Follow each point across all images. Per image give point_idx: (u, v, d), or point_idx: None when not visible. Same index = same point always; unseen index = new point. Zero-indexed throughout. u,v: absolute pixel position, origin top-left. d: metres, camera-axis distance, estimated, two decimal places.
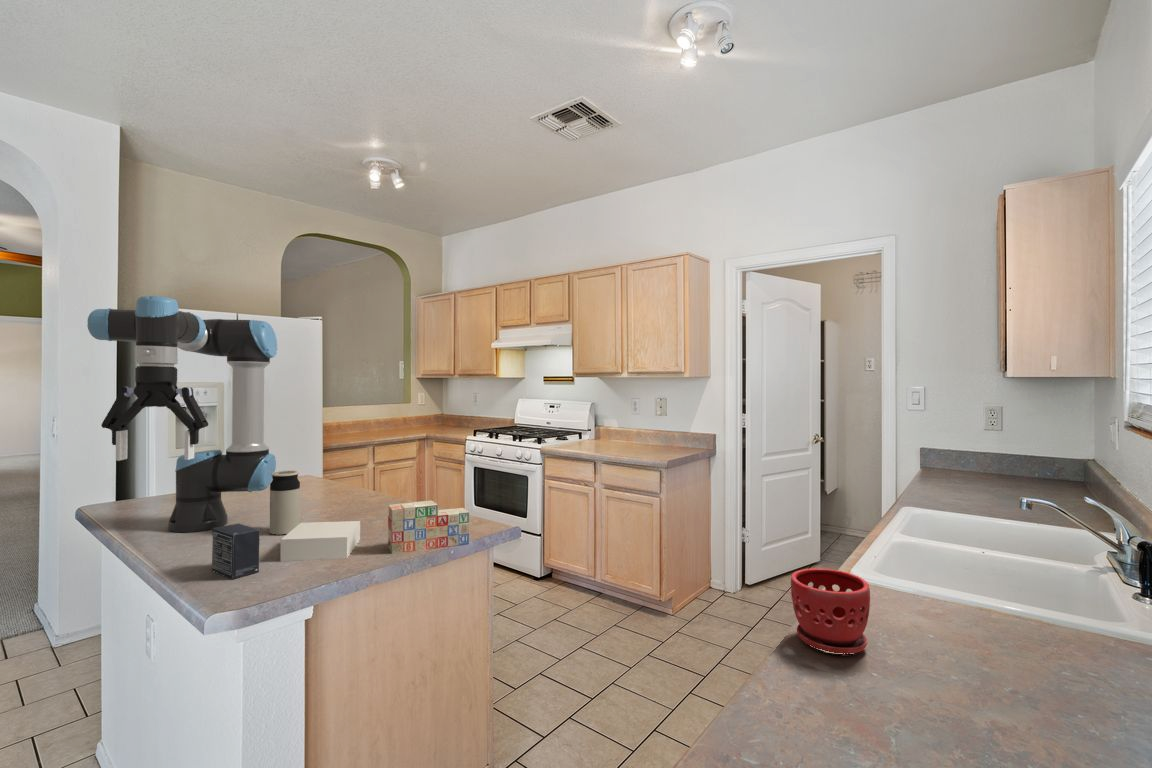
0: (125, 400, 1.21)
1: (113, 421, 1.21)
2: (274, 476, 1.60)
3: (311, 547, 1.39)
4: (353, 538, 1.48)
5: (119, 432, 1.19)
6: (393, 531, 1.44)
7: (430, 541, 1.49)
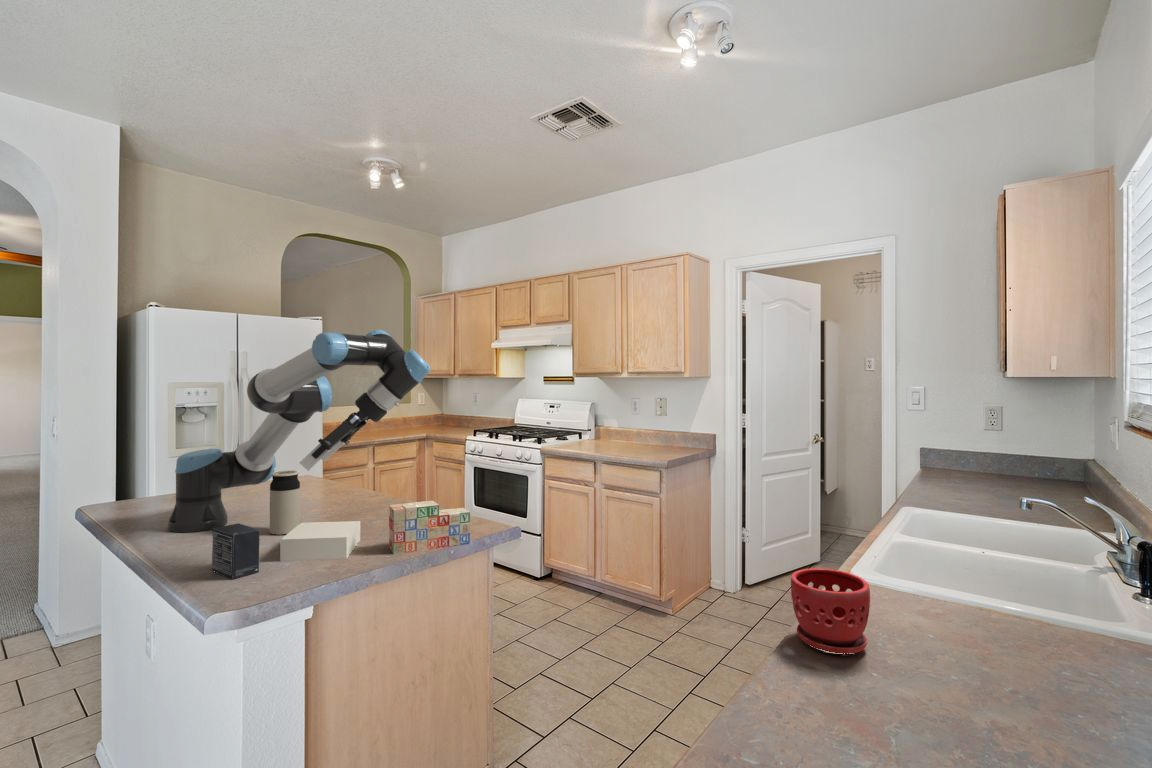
0: None
1: None
2: (274, 476, 1.60)
3: (310, 547, 1.39)
4: (353, 538, 1.47)
5: None
6: (395, 531, 1.44)
7: (432, 541, 1.49)
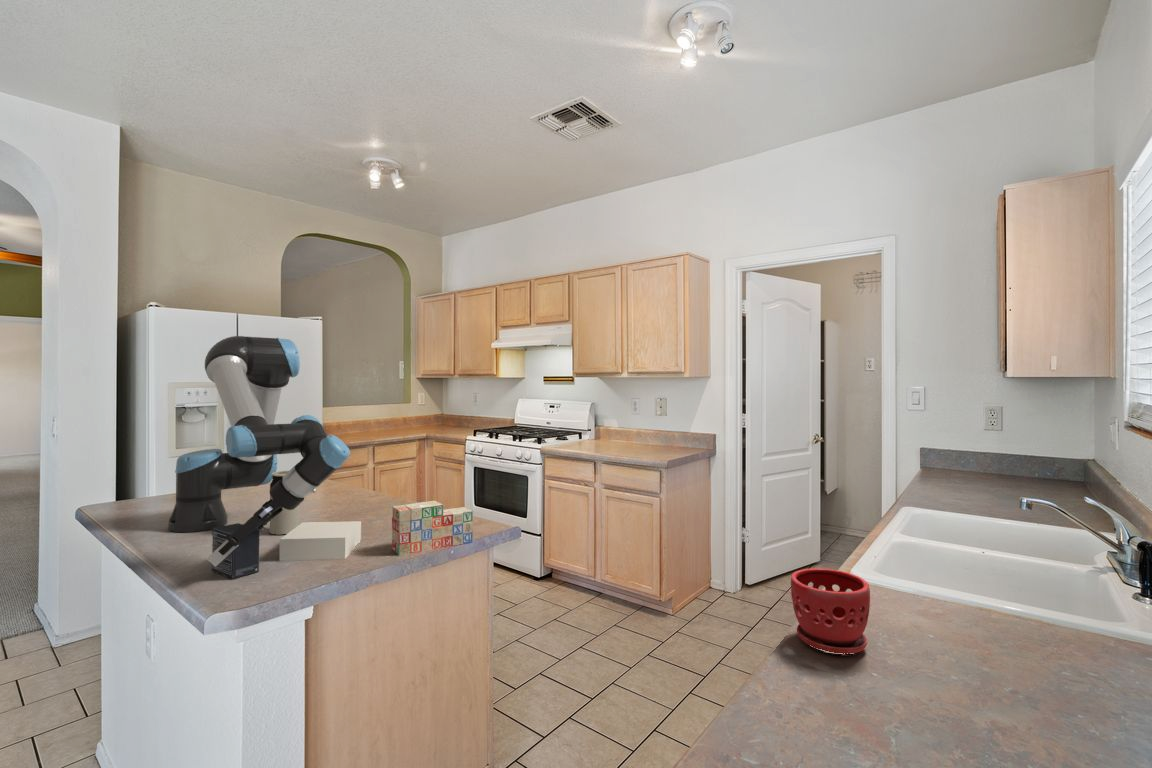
0: None
1: None
2: (274, 476, 1.60)
3: (309, 547, 1.39)
4: (353, 538, 1.47)
5: None
6: (400, 532, 1.43)
7: (436, 541, 1.49)
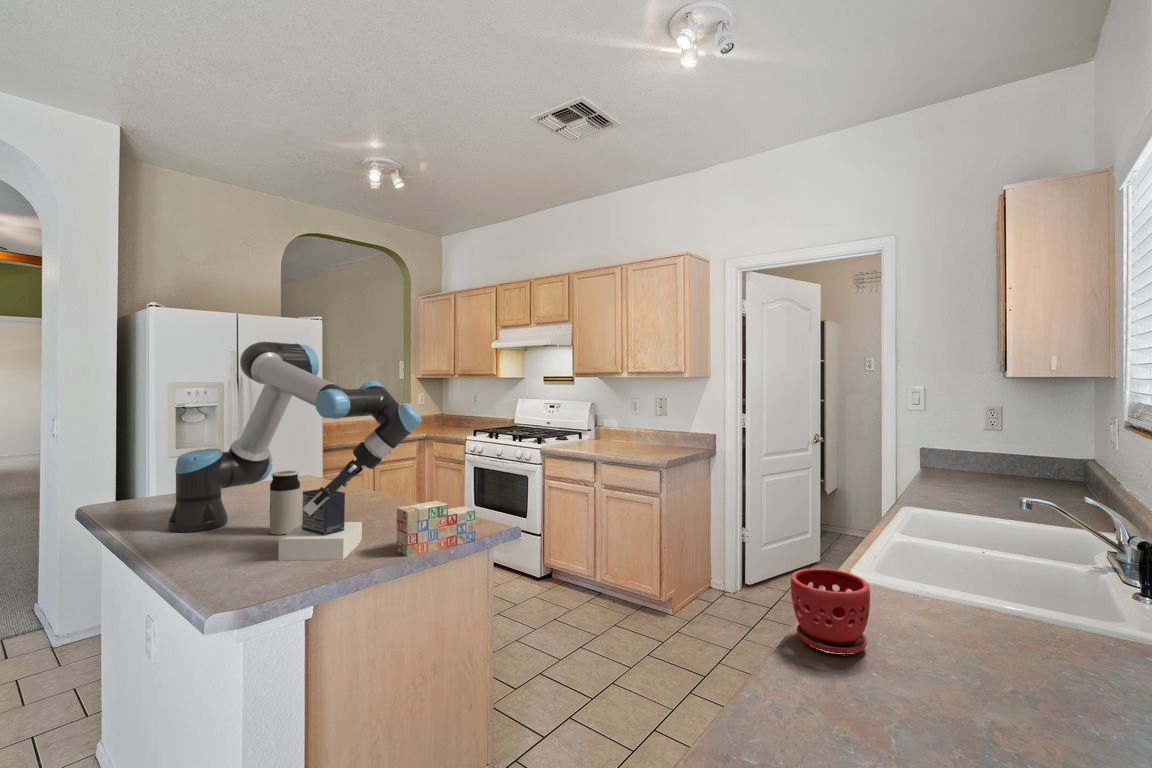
0: None
1: (327, 487, 1.38)
2: (274, 476, 1.60)
3: (308, 547, 1.39)
4: (352, 539, 1.47)
5: None
6: (408, 533, 1.43)
7: (441, 541, 1.49)
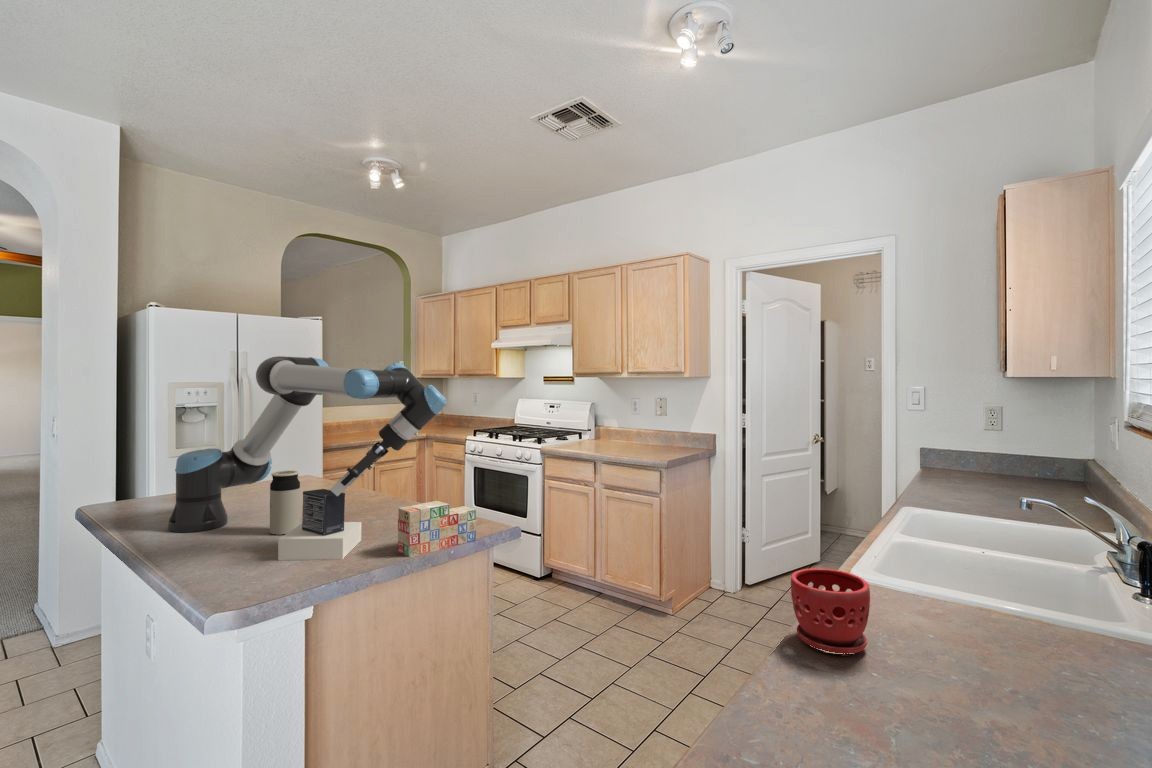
0: None
1: None
2: (274, 476, 1.60)
3: (307, 547, 1.39)
4: (352, 539, 1.47)
5: None
6: (410, 533, 1.42)
7: (443, 541, 1.50)
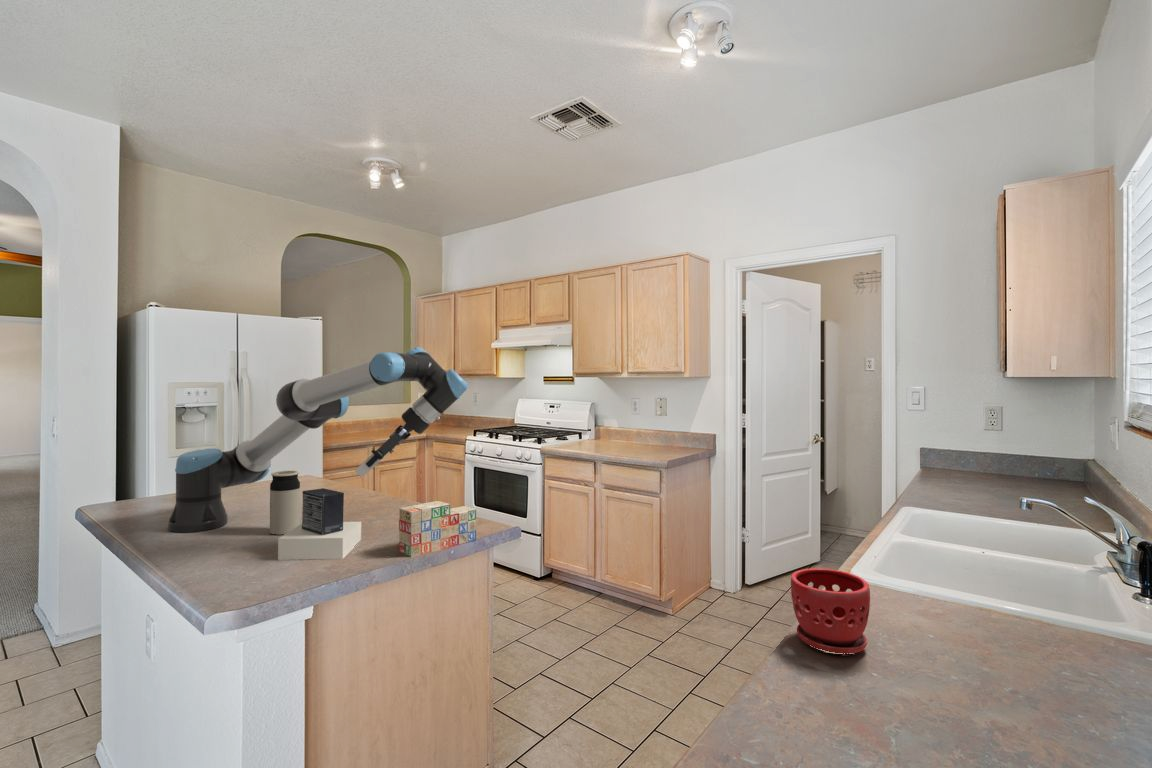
0: None
1: None
2: (274, 476, 1.60)
3: (307, 547, 1.39)
4: (351, 539, 1.47)
5: None
6: (412, 534, 1.42)
7: (444, 541, 1.50)
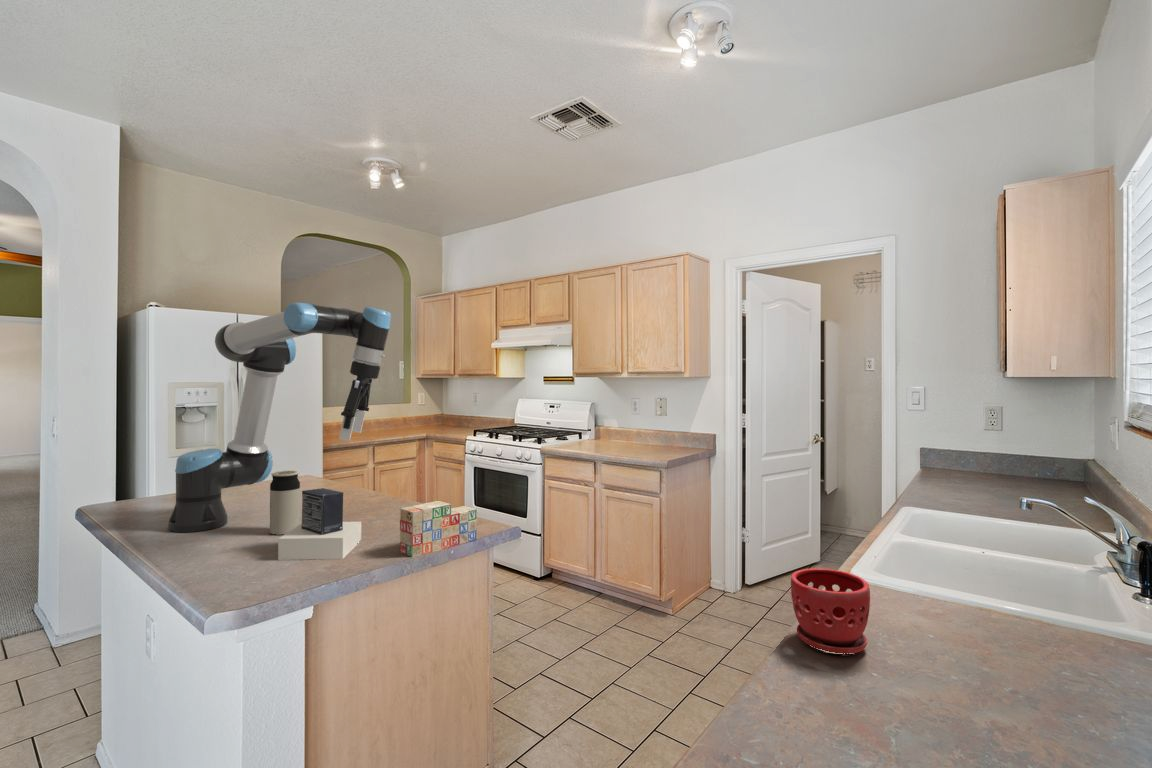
0: None
1: None
2: (274, 476, 1.60)
3: (307, 547, 1.39)
4: (351, 539, 1.47)
5: None
6: (413, 534, 1.42)
7: (445, 541, 1.50)
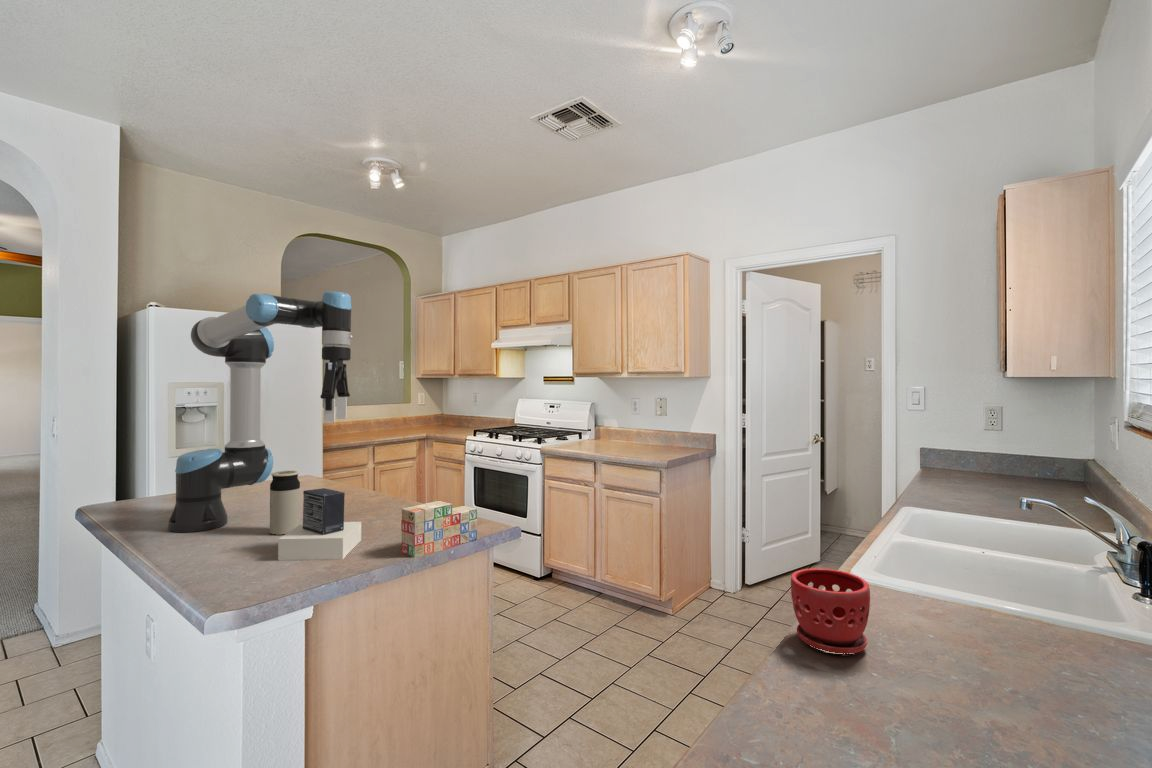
0: None
1: (324, 391, 1.45)
2: (274, 476, 1.60)
3: (307, 547, 1.39)
4: (351, 539, 1.47)
5: None
6: (415, 534, 1.42)
7: (446, 540, 1.50)
